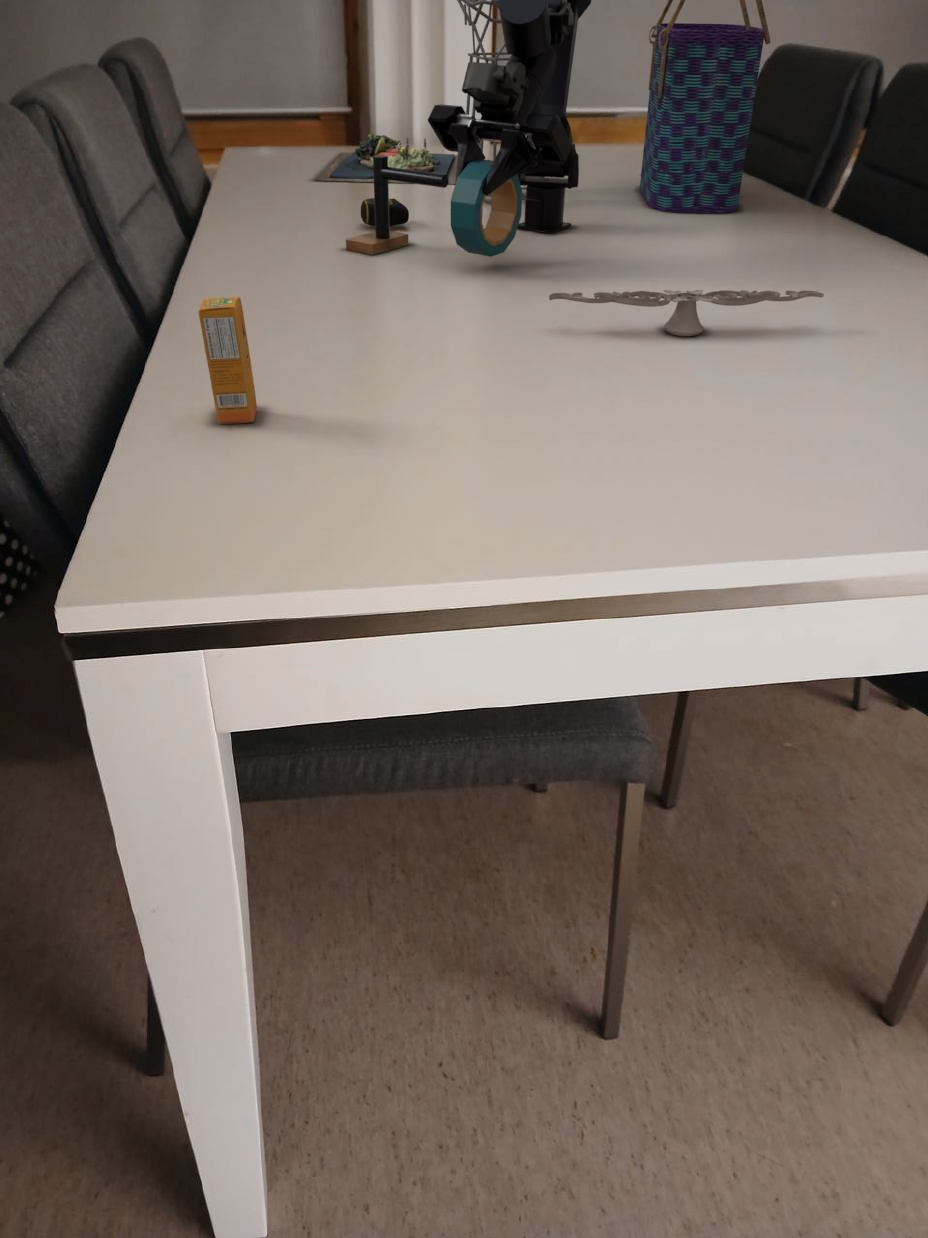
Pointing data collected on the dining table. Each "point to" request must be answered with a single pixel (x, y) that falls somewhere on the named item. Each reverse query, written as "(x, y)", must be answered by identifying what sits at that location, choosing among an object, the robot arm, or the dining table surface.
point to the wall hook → (686, 303)
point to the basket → (700, 112)
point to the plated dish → (361, 161)
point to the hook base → (376, 243)
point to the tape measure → (396, 212)
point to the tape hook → (382, 193)
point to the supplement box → (228, 359)
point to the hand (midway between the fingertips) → (470, 190)
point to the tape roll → (470, 208)
